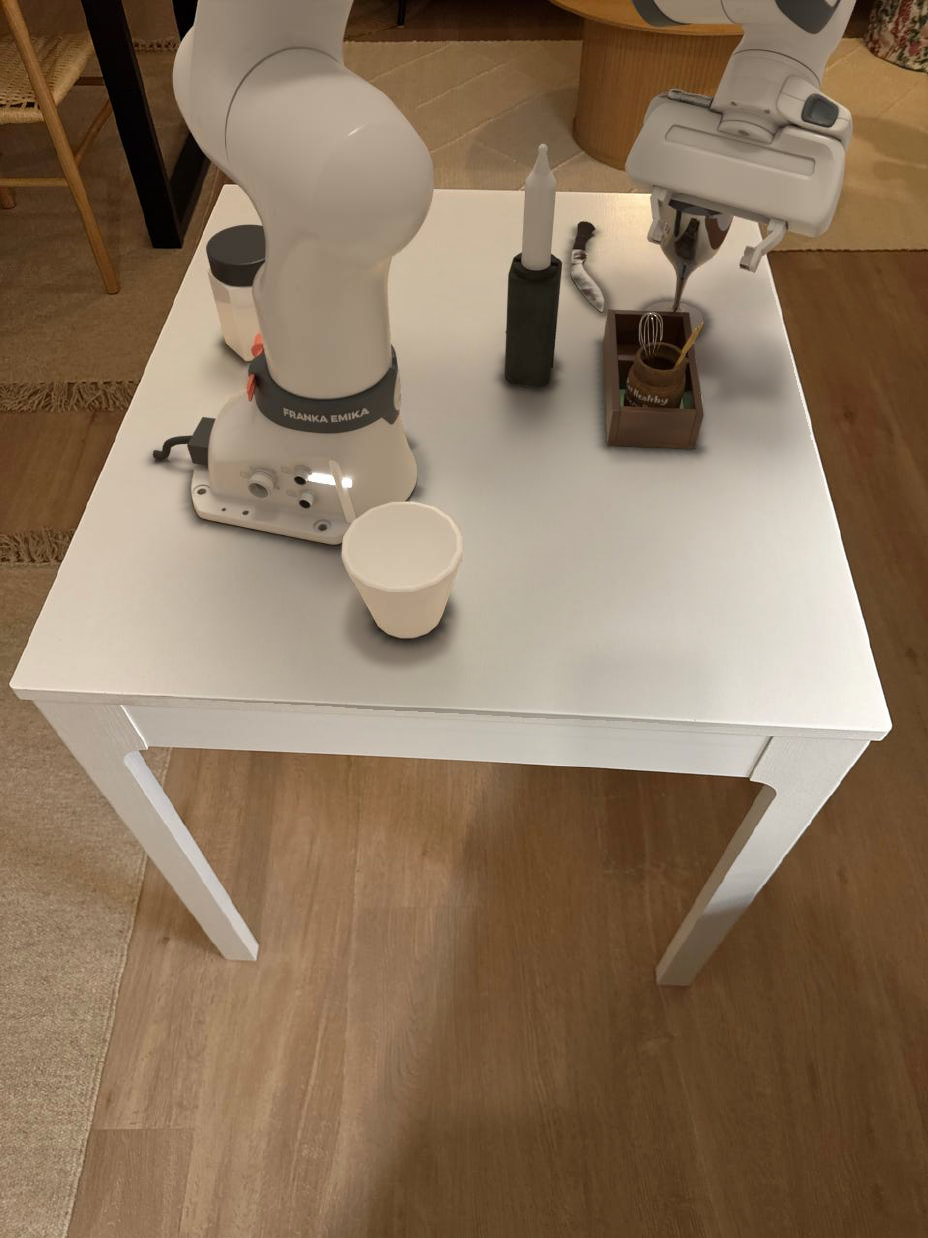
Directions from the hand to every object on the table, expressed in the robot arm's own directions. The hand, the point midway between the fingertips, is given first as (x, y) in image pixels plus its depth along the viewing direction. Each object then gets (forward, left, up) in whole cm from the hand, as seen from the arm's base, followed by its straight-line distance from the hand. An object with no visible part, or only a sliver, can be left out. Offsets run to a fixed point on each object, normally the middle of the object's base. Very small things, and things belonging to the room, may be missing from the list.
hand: (699, 255), depth 87 cm
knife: (-9, +23, -16) cm, 29 cm away
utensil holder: (-3, -5, -15) cm, 16 cm away
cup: (-26, -33, -16) cm, 45 cm away
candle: (-16, +2, -16) cm, 23 cm away
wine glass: (+1, +13, -16) cm, 21 cm away
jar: (-47, +6, -16) cm, 50 cm away
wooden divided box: (-3, -1, -16) cm, 16 cm away
